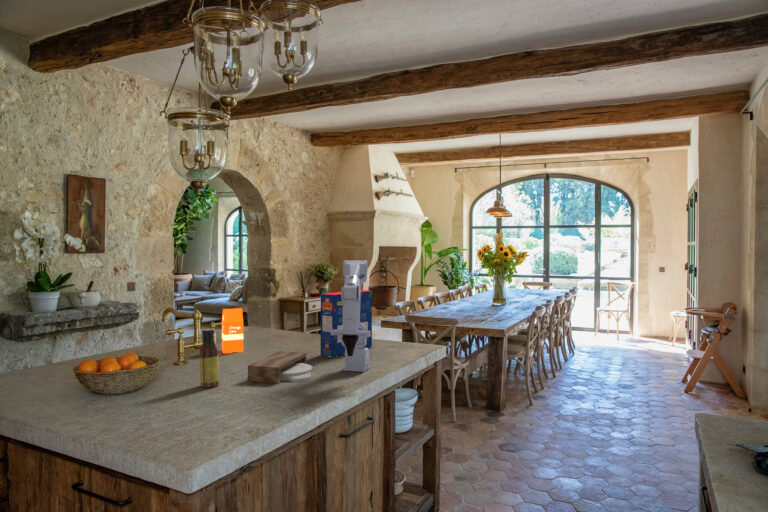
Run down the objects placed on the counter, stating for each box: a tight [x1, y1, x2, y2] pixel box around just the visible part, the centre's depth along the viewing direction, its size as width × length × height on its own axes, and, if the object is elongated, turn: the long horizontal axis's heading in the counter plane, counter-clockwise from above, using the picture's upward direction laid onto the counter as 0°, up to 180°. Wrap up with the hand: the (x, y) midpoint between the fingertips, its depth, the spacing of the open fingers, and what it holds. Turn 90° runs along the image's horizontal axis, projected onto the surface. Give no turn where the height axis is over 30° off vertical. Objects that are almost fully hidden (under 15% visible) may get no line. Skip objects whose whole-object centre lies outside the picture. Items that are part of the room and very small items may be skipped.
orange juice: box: [221, 307, 244, 354], centre depth 233 cm, size 8×9×20 cm
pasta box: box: [320, 289, 373, 358], centre depth 234 cm, size 28×8×28 cm, turn 145°
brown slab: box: [247, 350, 307, 384], centre depth 192 cm, size 12×26×6 cm, turn 167°
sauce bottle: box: [199, 328, 220, 389], centre depth 175 cm, size 6×6×20 cm
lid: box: [280, 363, 313, 383], centre depth 190 cm, size 17×20×3 cm
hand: (350, 355), depth 182 cm, fingers closed
